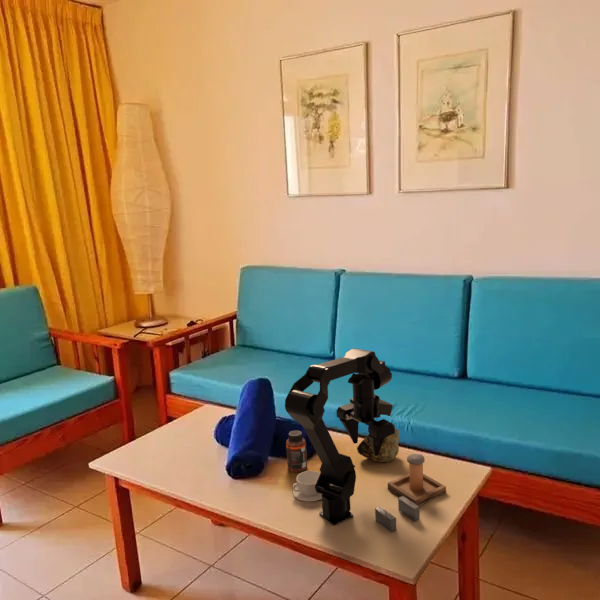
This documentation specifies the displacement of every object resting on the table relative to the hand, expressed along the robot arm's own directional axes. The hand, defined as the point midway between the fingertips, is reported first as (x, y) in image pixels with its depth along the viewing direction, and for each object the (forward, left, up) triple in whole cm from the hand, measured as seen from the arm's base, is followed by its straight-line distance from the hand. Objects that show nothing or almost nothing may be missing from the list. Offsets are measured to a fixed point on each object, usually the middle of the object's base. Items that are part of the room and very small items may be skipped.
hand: (365, 449), depth 152 cm
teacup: (-13, +9, -12) cm, 20 cm away
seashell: (+14, +11, -12) cm, 22 cm away
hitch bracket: (-3, -16, -12) cm, 20 cm away
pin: (+10, -9, -11) cm, 17 cm away
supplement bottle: (-9, +22, -12) cm, 27 cm away
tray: (+10, -9, -12) cm, 18 cm away
